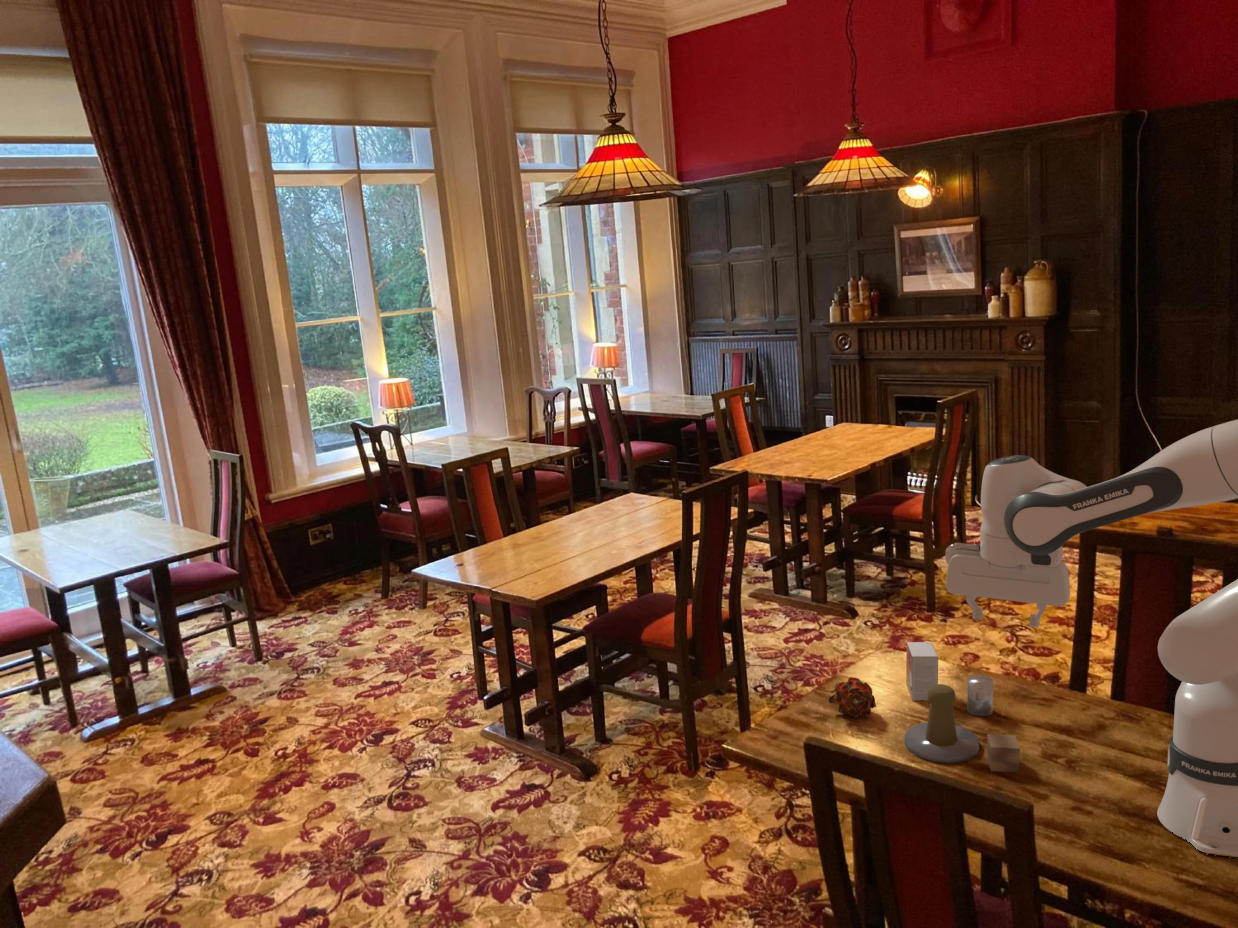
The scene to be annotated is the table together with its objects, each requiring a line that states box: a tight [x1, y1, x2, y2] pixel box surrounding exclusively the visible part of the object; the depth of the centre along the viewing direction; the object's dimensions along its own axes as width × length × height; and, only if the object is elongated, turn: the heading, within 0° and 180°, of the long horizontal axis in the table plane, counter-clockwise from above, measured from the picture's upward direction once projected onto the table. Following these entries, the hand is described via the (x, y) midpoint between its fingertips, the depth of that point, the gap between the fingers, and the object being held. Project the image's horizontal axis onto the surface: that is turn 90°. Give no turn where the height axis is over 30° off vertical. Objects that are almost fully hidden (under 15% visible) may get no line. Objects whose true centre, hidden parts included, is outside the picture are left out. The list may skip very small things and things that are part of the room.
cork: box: [925, 683, 957, 746], centre depth 191 cm, size 6×6×11 cm
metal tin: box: [966, 674, 994, 717], centre depth 203 cm, size 5×5×7 cm
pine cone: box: [827, 676, 877, 719], centre depth 207 cm, size 8×8×12 cm
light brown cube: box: [986, 733, 1021, 773], centre depth 183 cm, size 5×5×5 cm
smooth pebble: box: [904, 722, 980, 764], centre depth 192 cm, size 14×14×1 cm
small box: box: [905, 641, 939, 702], centre depth 213 cm, size 8×6×10 cm
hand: (1005, 621), depth 171 cm, fingers open, 8 cm apart
